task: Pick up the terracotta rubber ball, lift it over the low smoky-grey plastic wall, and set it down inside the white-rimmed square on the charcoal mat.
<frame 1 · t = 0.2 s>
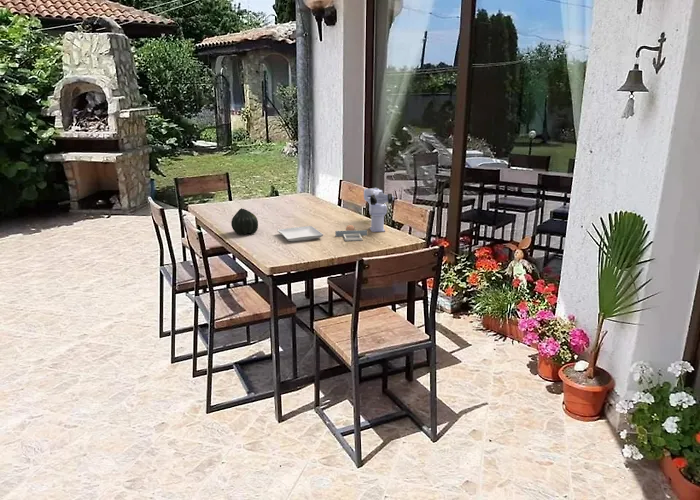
hand: (383, 201, 293), 21 cm above the table, tool horizontal, fingers open, 7 cm apart
salad plate: (300, 237, 302), on the table
squash: (245, 233, 309), on the table
resting mat: (352, 238, 299), on the table
ball: (350, 229, 309), point 2 cm above the table
low wall: (351, 235, 305), on the table
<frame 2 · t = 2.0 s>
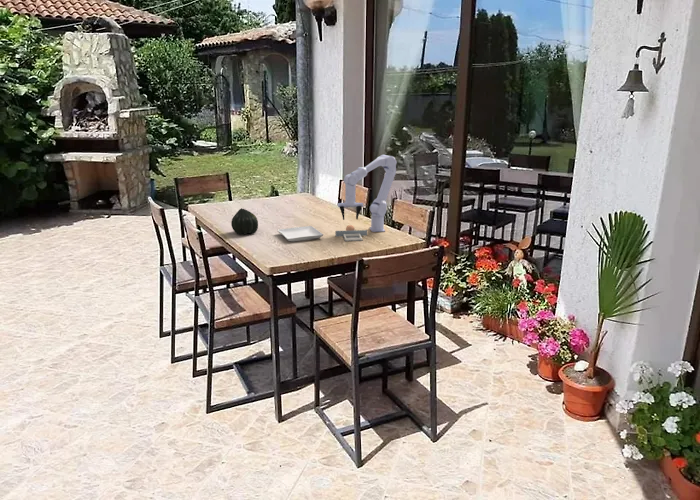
hand: (350, 219, 307), 8 cm above the table, tool pointing down, fingers open, 7 cm apart
nothing on the table moved.
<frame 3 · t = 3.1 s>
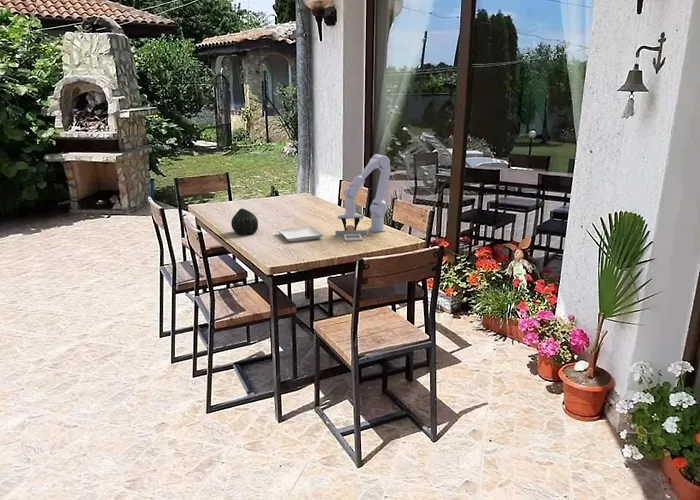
hand: (350, 230, 309), 2 cm above the table, tool pointing down, fingers closed on ball, 5 cm apart
ball: (350, 229, 309), point 2 cm above the table, touching gripper
everything else where it was.
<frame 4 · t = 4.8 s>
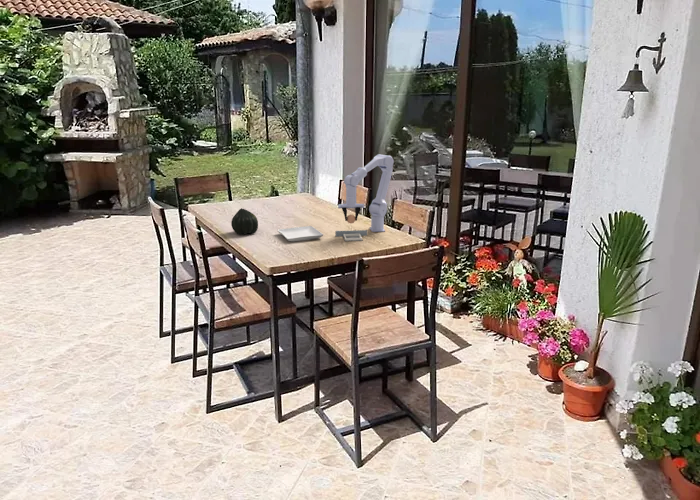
hand: (351, 220, 303), 9 cm above the table, tool pointing down, fingers closed on ball, 5 cm apart
ball: (351, 219, 303), point 10 cm above the table, touching gripper
everything else where it was.
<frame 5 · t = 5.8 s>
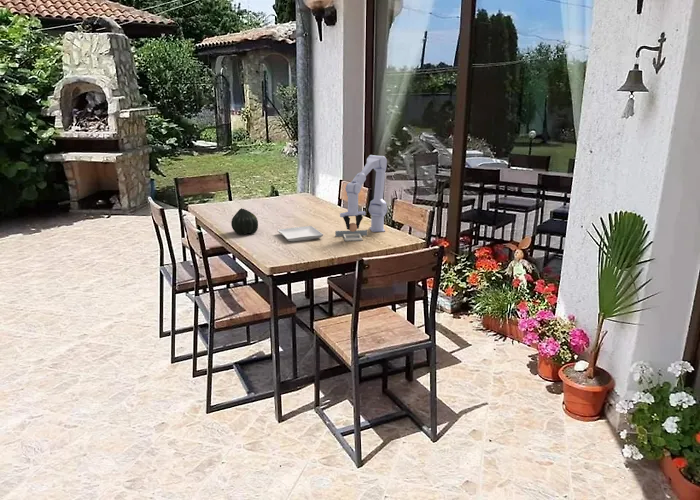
hand: (352, 228, 297), 6 cm above the table, tool pointing down, fingers closed on ball, 5 cm apart
ball: (352, 227, 297), point 7 cm above the table, touching gripper
everything else where it was.
when the fingers open (3 cm above the table, at t = 6.7 s): ball drops 1 cm, resting on resting mat.
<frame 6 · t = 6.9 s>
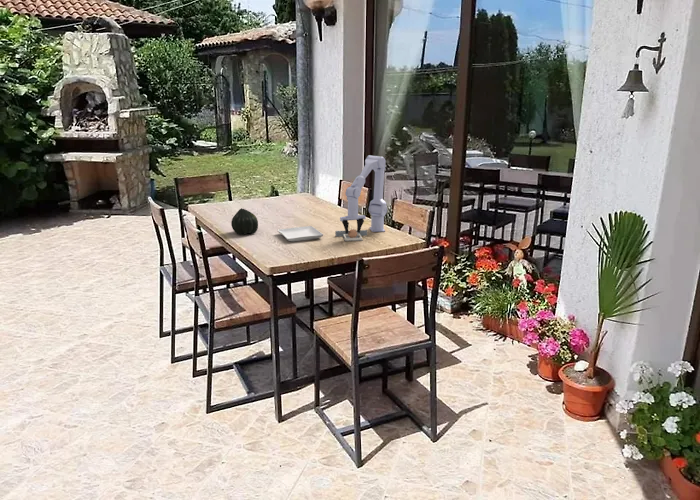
hand: (352, 232, 298), 3 cm above the table, tool pointing down, fingers open, 6 cm apart
ball: (352, 233, 298), point 3 cm above the table, touching resting mat
everything else where it was.
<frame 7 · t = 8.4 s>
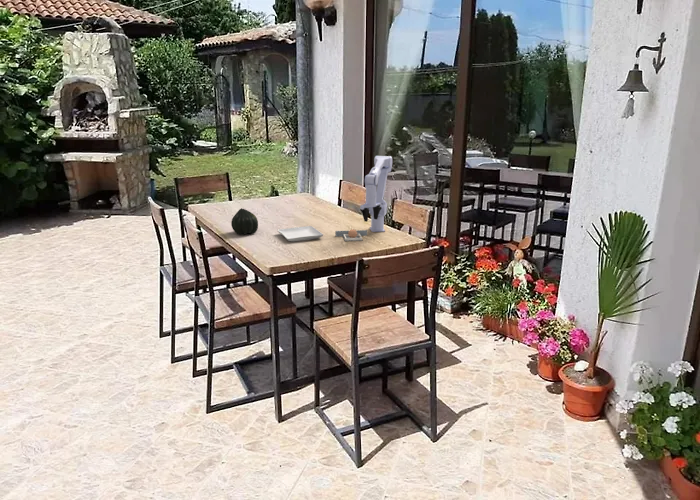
hand: (370, 220, 301), 9 cm above the table, tool pointing down, fingers open, 7 cm apart
nothing on the table moved.
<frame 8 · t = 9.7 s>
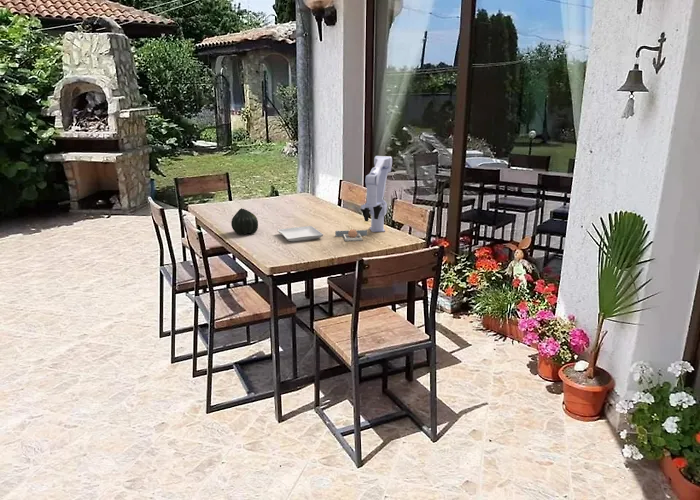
hand: (371, 220, 301), 9 cm above the table, tool pointing down, fingers open, 7 cm apart
nothing on the table moved.
at the end: ball 0.0 cm off-centre on the resting mat, point 2.8 cm above the resting mat's base; the gripper is holding nothing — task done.
